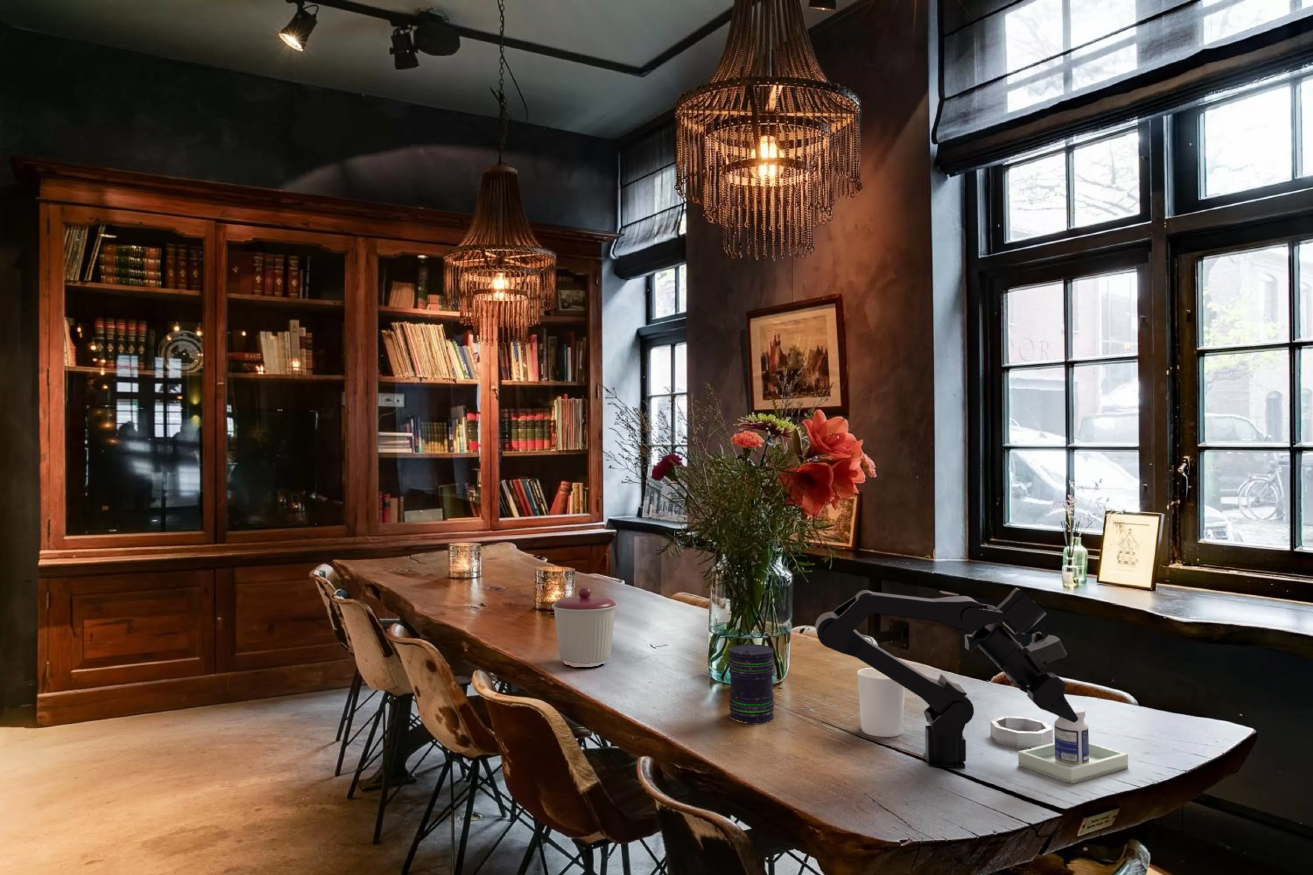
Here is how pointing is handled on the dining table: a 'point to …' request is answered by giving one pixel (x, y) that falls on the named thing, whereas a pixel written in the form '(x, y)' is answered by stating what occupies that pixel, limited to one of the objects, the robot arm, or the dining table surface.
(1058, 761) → the pill bottle
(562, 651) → the canister
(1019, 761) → the sage tray
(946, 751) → the robot arm
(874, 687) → the candle holder
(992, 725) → the steel collar
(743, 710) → the storage jar
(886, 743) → the dining table surface
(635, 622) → the dining table surface
